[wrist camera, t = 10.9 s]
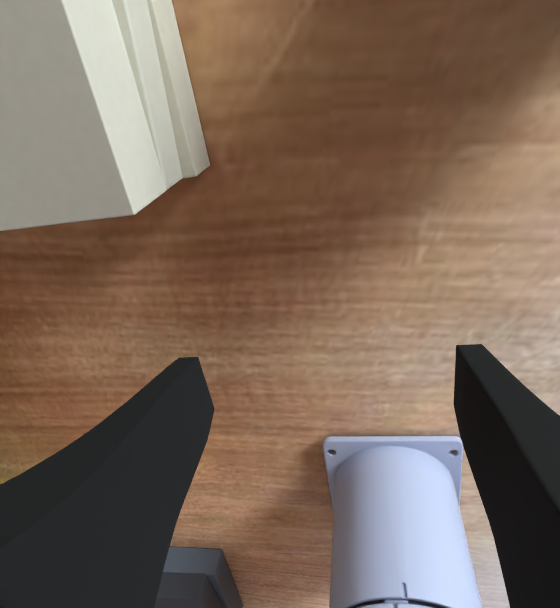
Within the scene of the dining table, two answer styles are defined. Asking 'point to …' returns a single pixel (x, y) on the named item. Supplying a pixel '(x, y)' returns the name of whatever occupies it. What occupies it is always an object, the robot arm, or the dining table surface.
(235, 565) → the dining table surface
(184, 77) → the white books
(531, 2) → the dining table surface
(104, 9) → the white book
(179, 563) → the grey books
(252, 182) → the dining table surface
